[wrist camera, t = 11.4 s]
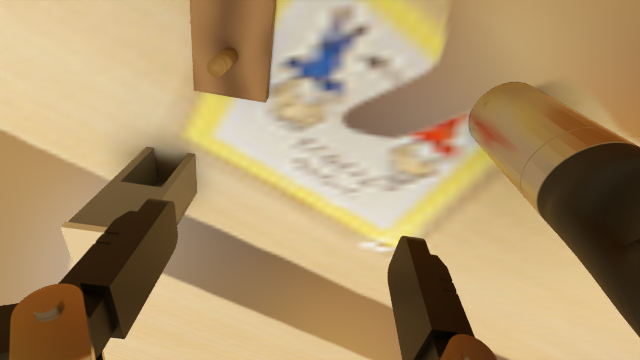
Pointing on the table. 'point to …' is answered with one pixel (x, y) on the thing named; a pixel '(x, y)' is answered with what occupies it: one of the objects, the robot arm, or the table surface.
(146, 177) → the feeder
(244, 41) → the pin block
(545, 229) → the table surface
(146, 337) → the table surface
